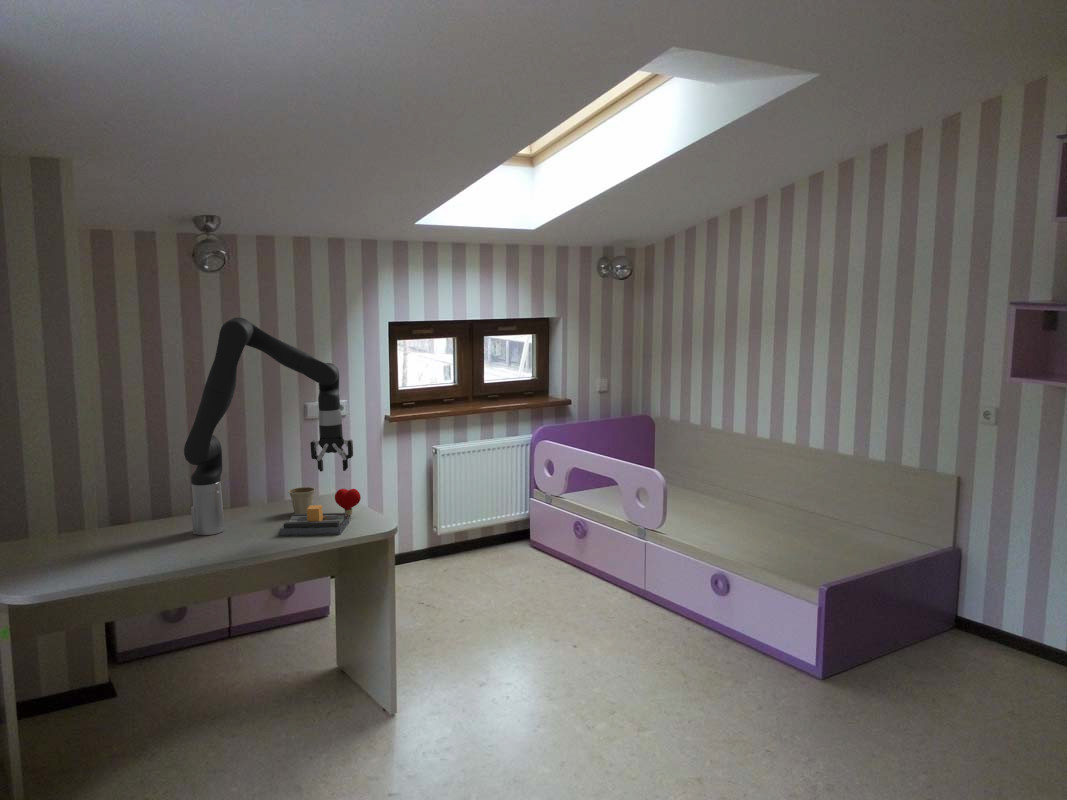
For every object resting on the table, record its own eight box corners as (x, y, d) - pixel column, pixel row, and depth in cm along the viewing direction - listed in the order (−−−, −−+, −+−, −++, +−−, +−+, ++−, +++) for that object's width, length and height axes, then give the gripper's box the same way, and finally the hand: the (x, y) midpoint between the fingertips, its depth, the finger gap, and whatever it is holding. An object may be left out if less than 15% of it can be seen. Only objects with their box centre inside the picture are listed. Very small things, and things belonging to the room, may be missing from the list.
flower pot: (291, 510, 302) (289, 487, 301) (317, 508, 304) (316, 486, 303) (288, 517, 293) (286, 494, 292) (315, 515, 295) (313, 492, 294)
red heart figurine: (364, 513, 296) (362, 486, 294) (358, 519, 289) (356, 491, 287) (339, 513, 297) (337, 486, 295) (332, 518, 290) (331, 491, 288)
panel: (280, 535, 271) (279, 525, 270) (292, 523, 285) (291, 513, 284) (340, 534, 271) (339, 523, 270) (349, 522, 285) (348, 512, 284)
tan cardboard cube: (307, 523, 275) (306, 509, 274) (311, 519, 280) (310, 505, 279) (319, 523, 275) (318, 508, 274) (322, 519, 280) (321, 505, 279)
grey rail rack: (283, 527, 271) (283, 523, 271) (293, 517, 283) (293, 514, 283) (337, 526, 272) (337, 522, 271) (345, 516, 283) (345, 512, 283)
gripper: (306, 425, 269) (309, 473, 272) (349, 424, 270) (352, 472, 272) (311, 421, 277) (314, 469, 279) (354, 420, 277) (356, 467, 279)
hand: (333, 470), depth 276 cm, fingers open, 7 cm apart
